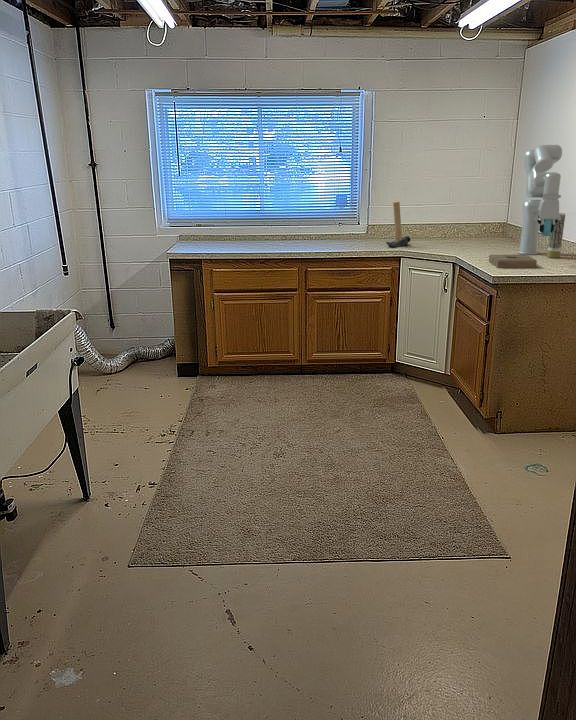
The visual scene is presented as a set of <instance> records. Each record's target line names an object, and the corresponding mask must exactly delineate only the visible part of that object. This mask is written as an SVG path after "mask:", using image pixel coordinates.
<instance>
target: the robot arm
mask: <svg viewBox="0 0 576 720" xmlns="http://www.w3.org/2000/svg"><path fill="white" fill-rule="evenodd" d="M562 156H563V148H562V147H561V146H560V145H559V144H541V145H539V146H537V147H536V148H535V149H530V150H527V151H526V152H524V155H523V166H524V170H525V173H526V178H525V179H526V183H525V195H526V197H528V198H531V199H528V200H526V201H524V202H523V204H522V226H521V236H520V243H519V250H516V254H518V255H520V254H526V255H528V256H530V255H532V256H534V255H538V254H540V253H539V251H538V249H537V248H538V238H539V233H540V234H542V233H543V228H544V225H543V223H544V220H545V219H552V225H551V233H552V232H553V230H554V225H555V224H556V223H557V222H558V221H559V220H561V219H562V218H561V216H560V214H559V213H560V200H559V199H560V198H561V197H562V195H561V194H559V191H560V184H561V178H562V177H561V174H560V173H558V172H556V171H555V172H553V171H552V172H551V171H550V172H548V171H549V170H551V169H552V168H553V166H554V164H556V163H557V162H559V161H560V160H561V158H562ZM534 198H535V199H534ZM555 219H556V220H555Z"/></svg>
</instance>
